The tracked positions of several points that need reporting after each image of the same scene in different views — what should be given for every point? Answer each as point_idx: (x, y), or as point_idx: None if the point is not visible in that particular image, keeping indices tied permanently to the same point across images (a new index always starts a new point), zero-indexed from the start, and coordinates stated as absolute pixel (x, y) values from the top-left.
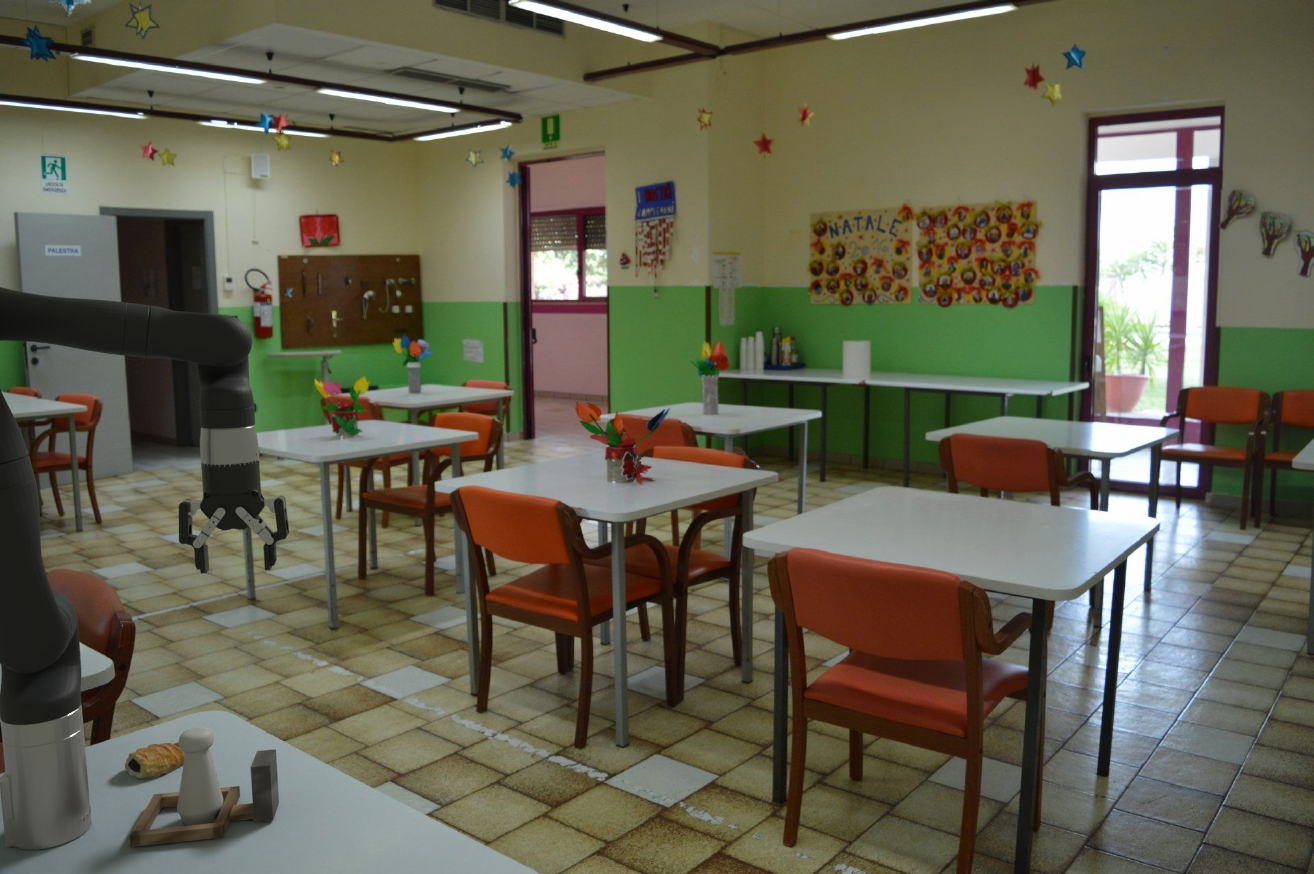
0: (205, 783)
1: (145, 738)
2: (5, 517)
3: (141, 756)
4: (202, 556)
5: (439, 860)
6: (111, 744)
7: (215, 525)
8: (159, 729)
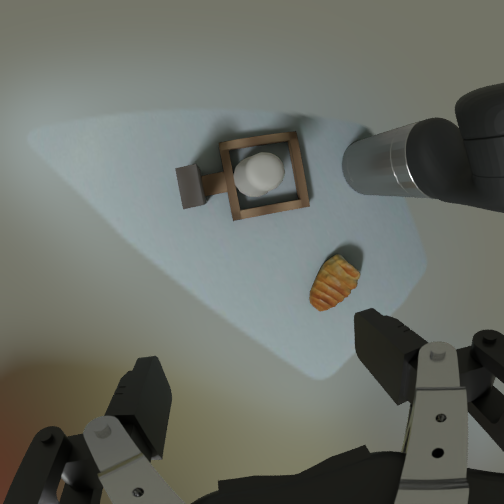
0: (245, 163)
1: None
2: None
3: (347, 267)
4: (392, 335)
5: (48, 129)
6: None
7: (414, 442)
8: None
